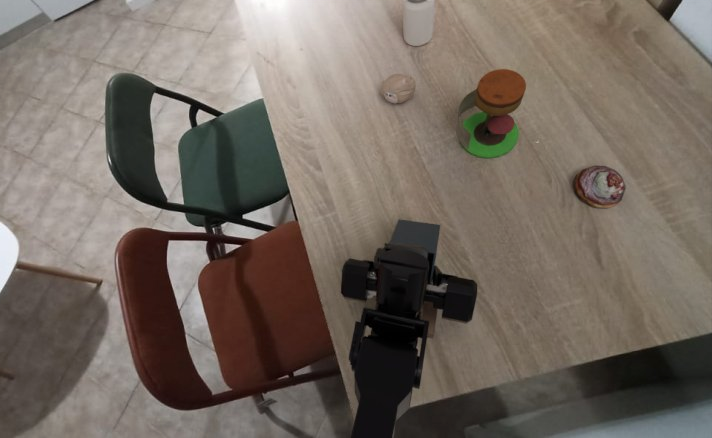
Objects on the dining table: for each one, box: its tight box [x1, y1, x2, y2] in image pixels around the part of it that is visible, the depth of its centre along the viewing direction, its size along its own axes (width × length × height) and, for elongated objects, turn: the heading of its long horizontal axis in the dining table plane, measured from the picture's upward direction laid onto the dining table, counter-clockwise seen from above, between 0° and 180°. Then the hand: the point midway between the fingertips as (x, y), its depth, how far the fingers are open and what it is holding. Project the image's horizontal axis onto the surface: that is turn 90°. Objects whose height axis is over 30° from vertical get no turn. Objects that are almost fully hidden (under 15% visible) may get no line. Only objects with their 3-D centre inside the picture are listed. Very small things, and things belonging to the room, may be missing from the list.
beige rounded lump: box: [380, 73, 416, 104], centre depth 93 cm, size 7×6×8 cm
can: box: [402, 0, 436, 47], centre depth 96 cm, size 6×6×12 cm
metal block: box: [374, 302, 439, 339], centre depth 76 cm, size 6×10×4 cm, turn 74°
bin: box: [389, 218, 441, 303], centre depth 73 cm, size 14×7×14 cm, turn 164°
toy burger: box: [455, 68, 527, 159], centre depth 80 cm, size 12×13×15 cm
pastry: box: [574, 165, 626, 209], centre depth 75 cm, size 8×8×5 cm
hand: (411, 264), depth 72 cm, fingers closed on bin, 7 cm apart
